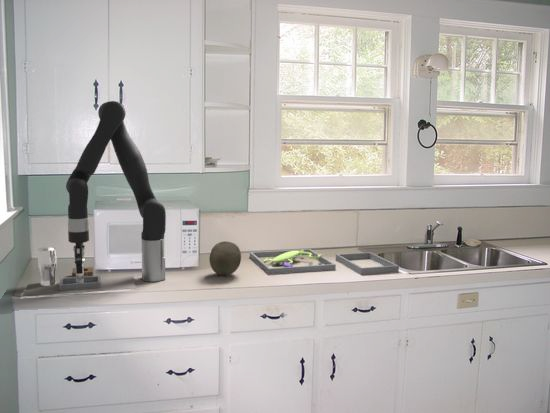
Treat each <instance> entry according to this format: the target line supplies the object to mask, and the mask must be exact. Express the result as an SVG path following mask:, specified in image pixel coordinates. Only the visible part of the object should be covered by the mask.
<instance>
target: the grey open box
mask: <svg viewBox="0 0 550 413" xmlns="http://www.w3.org/2000/svg"><path fill="white" fill-rule="evenodd" d="M300 250H303V251H304V252H309V253H312V256H313V257H318V255H319V253H317V252H316V251H314V250H312V249H311V248H305V249H301V248H300V249H286V250H269V251H268V250H267V251H251V252H249V258H250V259H251V260H252V261H253V262H254V263H256V264H257V265H258V267H260V268H261V269H262V270H263V271H264V272H265V273H267V275H277V274H278V275H280V274H294V273H309V272H322V271H323V272H324V271H336V266H337V265H336V263H334V262H332V261H331V260H329V259H328V258H326V257H325V256H322V257H320V258H318V259H316V260H317V261H319V263H321V264H317V265H301V266H297V265H296V266H293V267H283V266H282V267H270V266H269V265H268V264H266V263H264V262H263V261H264V260H262V259H260V258H267V257H269V258H271V257H277V256H279V255H281V254H284V253H286V252H290V251H300ZM302 255H304V256H305V255H306V254H302ZM302 255H301V256H302ZM298 256H300V254H299V255H298Z"/></svg>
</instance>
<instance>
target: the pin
mask: <svg viewBox="0 0 550 413" xmlns="http://www.w3.org/2000/svg"><path fill="white" fill-rule="evenodd" d="M78 260H81V259H77V261H78ZM72 261H73V262H72V263H74V264H75V258H73V259H72ZM82 261H83V263H82V271H83V272H82V273H81V274H77V273H76V283H85V282H84V269H83V268H84V263H86V258H85V257H84V258H83V259H82Z"/></svg>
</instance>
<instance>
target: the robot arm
mask: <svg viewBox="0 0 550 413" xmlns="http://www.w3.org/2000/svg"><path fill="white" fill-rule="evenodd" d="M97 114H98V115H97V116H98V118H99V122H98V125H97V127H96V129H95V131H94V133H93V135H92V137H91V138H90V140H89V141H88V143H87V144H86V146H85V148H84V149H83V151H82V153H81V155H80V157H79V160H78V161H77V164H76V166H75V168H74V169H73V171H72V173H71V174H70V176H69V177H68V179H67V182H66V183H65V184H66V185H65V189H66V191H67V193H68V194H69V195H68V201H69V204H68V207H67V215H68V216H67V217H68V220H67V237H68V238H67V239H68V243H71V244H75V245H73V256H74V258H75V263H74V264H75V268H76V273H77V274H81V273H82V272H83V271H82V263H83V261H82V259H83V258H85V250H86V246H85V245H84V243H87V242H89V241H90V227H89V225H90V223H89V217H88V215H89V214H88V201H89V200H88V199H89V186H88V182H89V180H90V178H91V177H92V175H94V173H96V170H97V168H98V167H99V164H100V163H101V160H102V158H103V155H104V154H105V151H106V149H107V146H108V144H109V143H110V141H111V143H112V144H111V145H112V147H113V150H114V153H115V156H116V157H117V161H118V163H119V165H120V169H121V170H122V173H123V175H124V178H125V179H126V181H127V183H128V185H129V187H130V189H131V191H132V192H133V195H134V197H135V202H136V204H137V207H138V211H139V215H140V216H141V218H142V231H141V233H140V234H141V276H142V277H141V279H142V281H144V282H160V281H164V280H165V281H166V256H165V233H166V228H167V227H166V224H167V223H166V220H167V219H166V218H167V216H166V215H167V214H166V208H165V206H164V204H163V203H161V202H160V201H158V199H157V198H156V196H155V194H154V192H153V190H152V188H151V184H150V180H149V173H148V169H147V167H146V163H145V161H144V158H143V156H142V154H141V151H140V150H139V148H138V146H137V144H136V143H135V142H134V141H133V139H132V138H131V136H130V134H129V132H128V129H127V128H126V127H127V126H126V125H125V121H124V120H125V118H126V109H125V107H124V105H123V104H122V103H120V102H119V101H116V100H115V101H114V100H112V101H106V102H103V103H102V104H101V105H100V106H99V108H98V113H97ZM74 258H73V259H74ZM77 259H81V260H78V261H77ZM83 264H84V263H83Z"/></svg>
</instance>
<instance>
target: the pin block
mask: <svg viewBox="0 0 550 413" xmlns="http://www.w3.org/2000/svg"><path fill="white" fill-rule="evenodd" d="M83 269H84V277H85V276H94V267H93V266H88V267H86V266H84V267H83ZM71 277H76V267H73V268H72V271H71Z"/></svg>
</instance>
